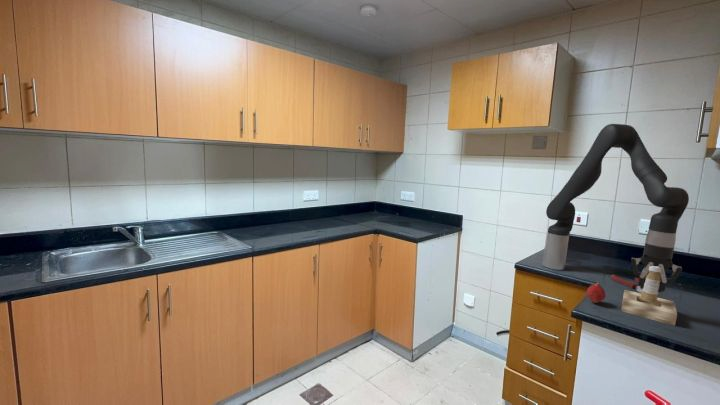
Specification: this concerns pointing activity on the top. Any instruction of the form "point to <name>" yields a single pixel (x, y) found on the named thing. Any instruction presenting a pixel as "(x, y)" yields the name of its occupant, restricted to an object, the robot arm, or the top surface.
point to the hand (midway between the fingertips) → (650, 289)
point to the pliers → (627, 283)
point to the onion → (596, 293)
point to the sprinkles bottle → (651, 285)
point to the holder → (649, 308)
